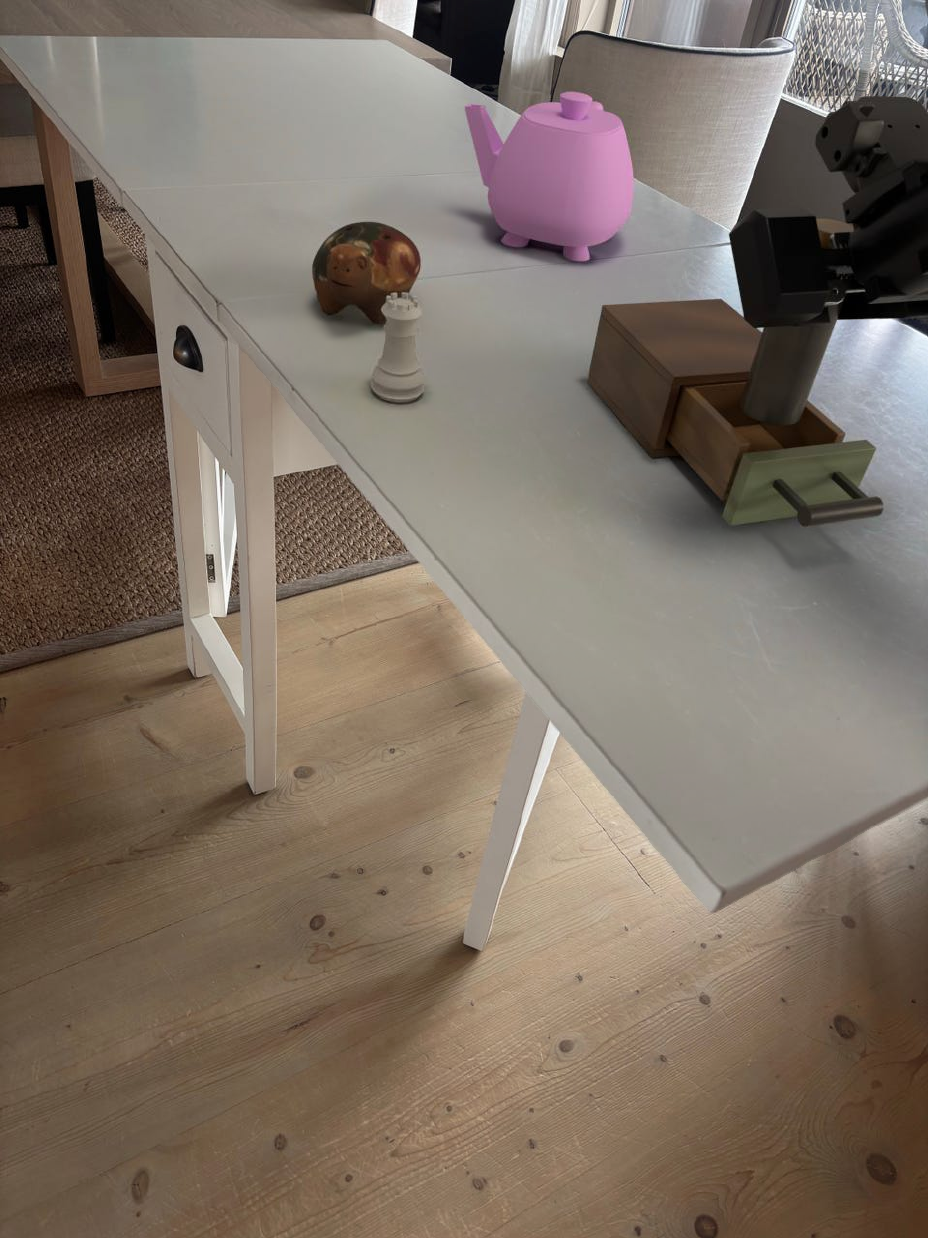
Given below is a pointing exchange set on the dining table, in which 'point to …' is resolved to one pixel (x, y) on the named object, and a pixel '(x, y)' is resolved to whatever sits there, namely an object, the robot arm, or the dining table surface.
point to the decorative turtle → (364, 268)
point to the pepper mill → (789, 359)
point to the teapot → (556, 173)
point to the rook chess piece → (399, 352)
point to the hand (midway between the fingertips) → (788, 314)
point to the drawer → (771, 460)
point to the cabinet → (665, 360)
